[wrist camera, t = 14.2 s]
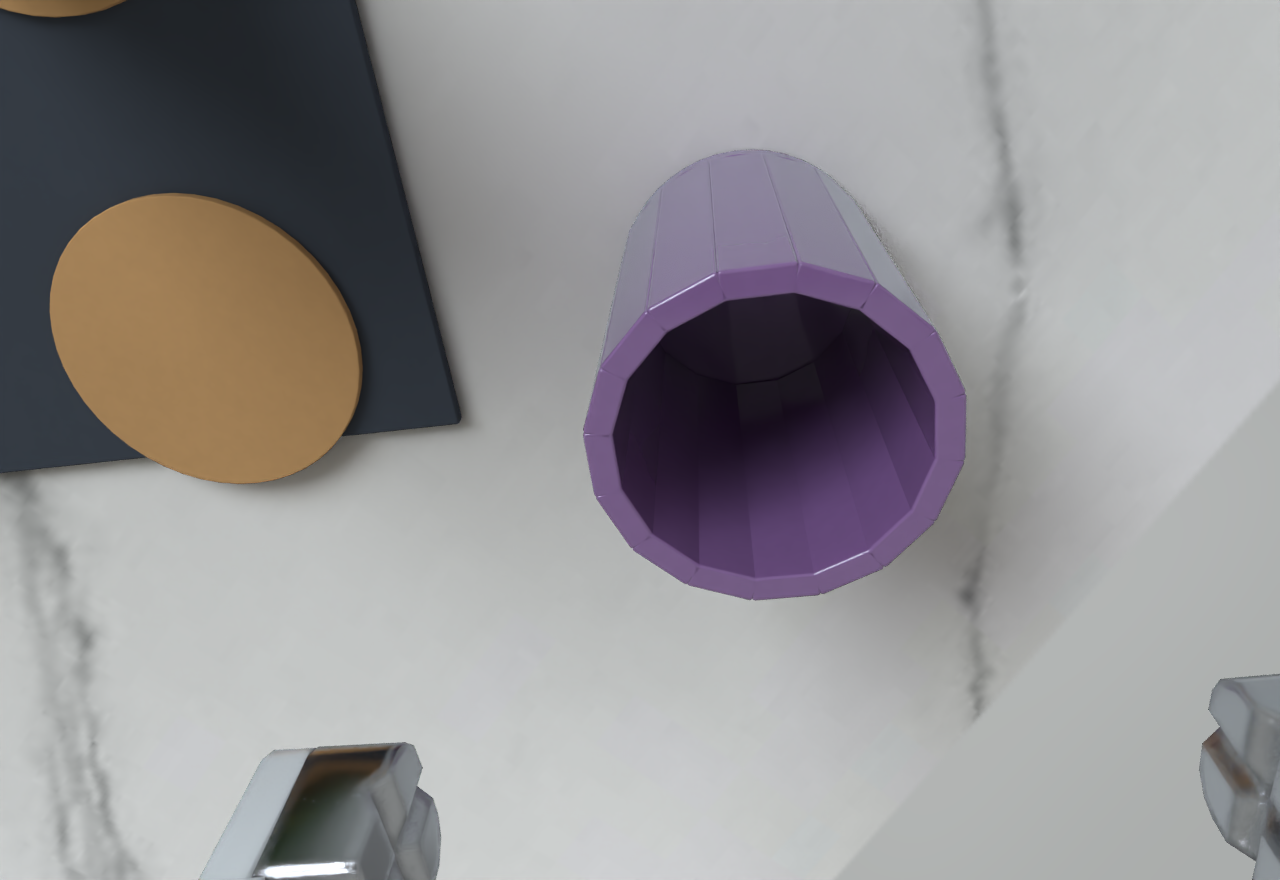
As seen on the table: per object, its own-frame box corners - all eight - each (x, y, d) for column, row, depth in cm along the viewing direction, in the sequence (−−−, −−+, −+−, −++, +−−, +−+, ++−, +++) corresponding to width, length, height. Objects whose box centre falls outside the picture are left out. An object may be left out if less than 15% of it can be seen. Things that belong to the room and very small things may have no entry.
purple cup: (868, 131, 22) (970, 241, 14) (876, 376, 24) (963, 584, 17) (603, 168, 22) (554, 291, 14) (640, 401, 25) (616, 613, 17)
